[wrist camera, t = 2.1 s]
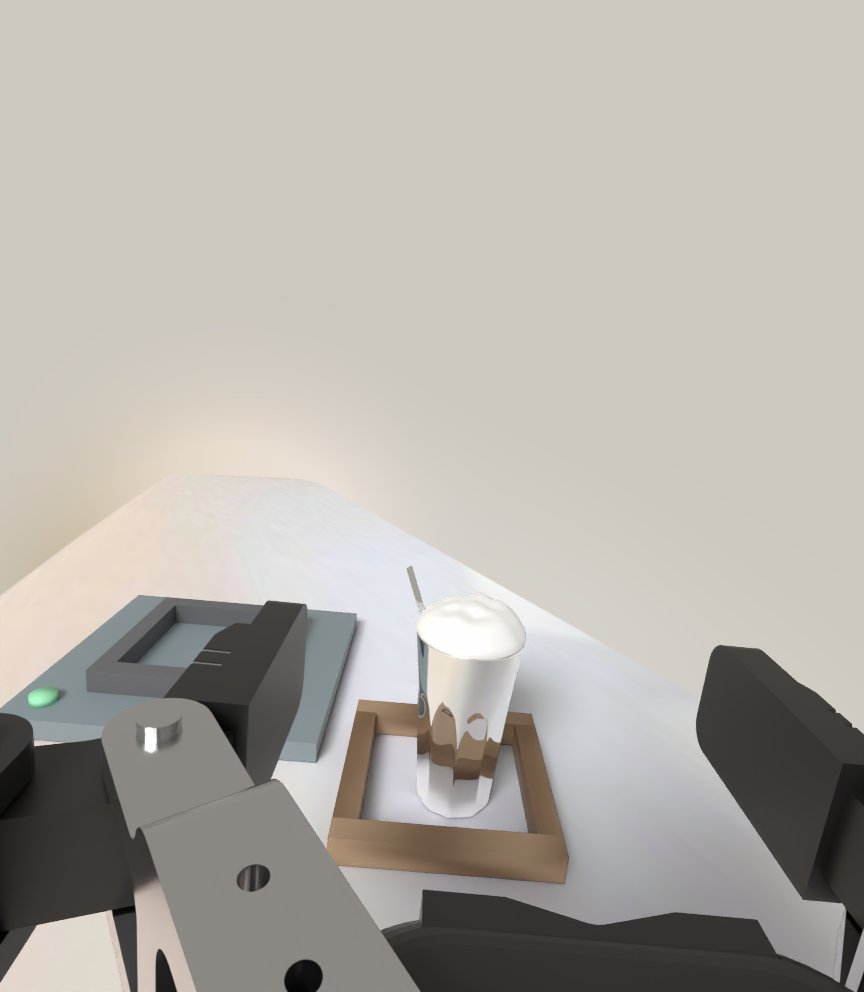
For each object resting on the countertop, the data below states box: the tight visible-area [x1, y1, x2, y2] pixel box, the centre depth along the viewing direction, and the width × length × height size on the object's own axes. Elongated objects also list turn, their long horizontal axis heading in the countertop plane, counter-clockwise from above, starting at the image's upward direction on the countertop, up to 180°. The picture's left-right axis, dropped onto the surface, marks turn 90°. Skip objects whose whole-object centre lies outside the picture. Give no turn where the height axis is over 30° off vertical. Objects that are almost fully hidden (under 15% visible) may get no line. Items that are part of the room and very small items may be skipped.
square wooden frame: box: [327, 700, 569, 883], centre depth 27 cm, size 9×9×1 cm
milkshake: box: [407, 566, 526, 818], centre depth 26 cm, size 5×5×10 cm
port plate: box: [0, 595, 357, 763], centre depth 34 cm, size 15×14×2 cm
